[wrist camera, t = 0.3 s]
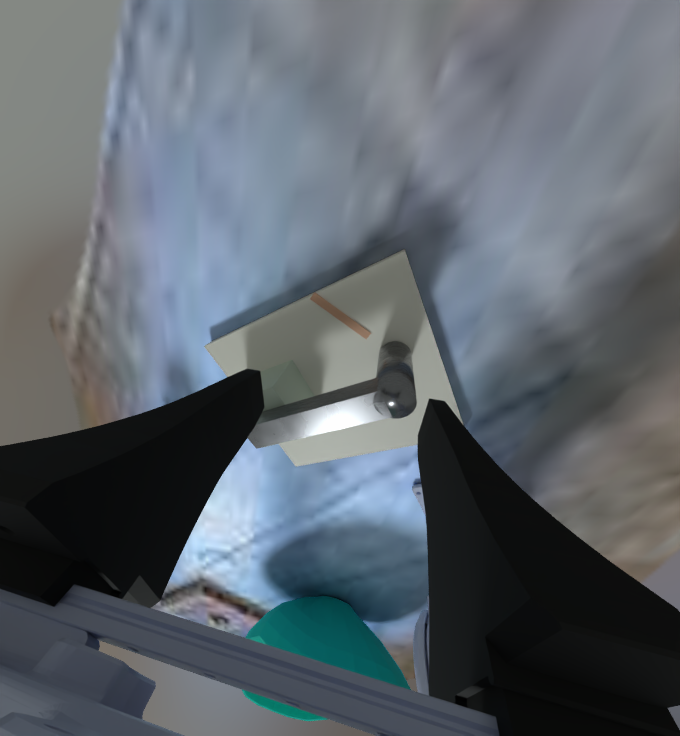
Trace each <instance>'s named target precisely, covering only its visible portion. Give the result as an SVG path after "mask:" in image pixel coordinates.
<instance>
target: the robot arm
mask: <svg viewBox="0 0 680 736" xmlns="http://www.w3.org/2000/svg"><path fill="white" fill-rule="evenodd" d="M264 407H265V406H264V397H263V389H262V380H261V372H260V371H259V370H253V369H245V370H242V371H240V372H238V373H236V374H233V375H231V376H229V377H227V378H225V379H223V380H221V381H219V382H217V383H215V384H213V385H210V386H208V387H206V388H204V389H202V390H200V391H197V392H195V393H193V394H190V395H188V396H186V397H184V398H181V399H179V400H177V401H174V402H172V403H169V404H167V405H164V406H161V407H158V408H156V409H153V410H150V411H147V412H144V413H141V414H138V415H135V416H131V417H128V418H125V419H121V420H118V421H115V422H111V423H108V424H104V425H100V426H96V427H92V428H88V429H84V430H80V431H76V432H72V433H68V434H63V435H58V436H53V437H49V438H43V439H37V440H32V441H27V442H21V443H16V444H11V445H5V446H0V736H184V735H181V734H179V733H176V732H173V731H171V730H168V729H165V728H163V727H160V726H158V725H155V724H152V723H150V722H147V721H145V720H143V719H142V715H143V711H144V709H145V707H146V705H147V703H148V701H149V699H150V697H151V695H152V693H153V691H154V689H155V687H156V685H155V681H153V680H151V679H149V678H147V677H145V676H143V675H141V674H140V673H138V672H136V671H135V670H133V669H132V668H130V667H129V666H128V665H127V664H125V663H124V662H123V661H121V660H119V659H116V658H114V657H112V656H109V655H107V654H105V653H102V652H100V651H98V650H99V647H100V645H99V640H100V641H103V642H106V643H109V644H112V645H114V646H118V647H120V648H123V649H126V650H129V651H132V652H135V653H138V654H141V655H144V656H146V657H149V658H152V659H155V660H158V661H161V662H164V663H167V664H170V665H173V666H176V667H178V668H181V669H184V670H187V671H190V672H193V673H196V674H199V675H202V676H205V677H208V678H210V679H213V680H217V681H220V682H222V683H225V684H228V685H231V686H234V687H237V688H240V689H242V690H245V691H248V692H251V693H254V694H257V695H260V696H263V697H266V698H269V699H272V700H274V701H277V702H280V703H283V704H286V705H289V706H292V707H295V708H298V709H301V710H304V711H306V712H309V713H312V714H315V715H318V716H321V717H324V718H327V719H330V720H333V721H336V722H338V723H341V724H344V725H348V726H351V727H353V728H356V729H359V730H362V731H365V732H368V733H371V734H373V735H376V736H680V730H679V728H678V727H677V725H676V723H675V721H674V719H673V717H672V716H671V714H670V712H669V710H668V708H669V707H673V706H678V705H680V612H679V611H678V609H676V608H675V607H674V606H672V605H671V604H669V603H668V602H666V601H665V600H664V599H662V598H661V597H659V596H658V595H657V594H655V593H654V592H652V591H651V590H649V589H648V588H647V587H645V586H644V585H642V584H641V583H640V582H638V581H637V580H635V579H634V578H632V577H631V576H630V575H628V574H627V573H625V572H624V571H623V570H621V569H620V568H618V567H617V566H616V565H614V564H613V563H611V562H610V561H609V560H607V559H606V558H605V557H603V556H602V555H601V554H600V553H598V552H597V551H596V550H594V549H593V548H592V547H590V546H589V545H588V544H586V543H585V542H584V541H583V540H581V539H580V538H579V537H577V536H576V535H575V534H574V533H572V532H571V531H570V530H569V529H567V528H566V527H565V526H564V525H562V524H561V523H560V522H559V521H558V520H556V519H555V518H554V517H553V516H552V515H551V514H549V513H548V512H547V511H546V510H545V509H544V508H542V507H541V506H540V505H539V504H538V503H537V502H535V501H534V500H533V499H532V498H531V497H530V496H529V495H528V494H527V493H525V492H524V491H523V490H522V489H521V488H520V487H519V486H518V485H517V484H516V483H515V482H514V481H513V480H512V479H511V478H510V477H509V476H508V475H507V474H506V473H505V472H504V471H503V470H502V469H501V468H500V467H499V466H498V465H497V464H496V463H495V462H494V461H493V460H492V458H491V457H490V456H489V455H488V454H487V453H486V452H485V451H484V450H483V448H482V447H481V446H480V445H479V444H478V443H477V441H476V440H475V439H474V438H473V437H472V435H471V434H470V433H469V432H468V430H467V429H466V428H465V427H464V425H463V424H462V423H461V421H460V420H459V419H458V417H457V416H456V415H455V413H454V412H453V411H452V409H451V408H450V407H449V406H448V404H447V403H446V402H445V401H442V400H436V399H430V398H429V401H428V404H427V407H426V410H425V413H424V417H423V420H422V423H421V426H420V429H419V433H418V463H419V470H420V478H421V484H416V485H413V486H412V491H413V493H414V494H415V496H416V498H417V500H418V502H419V504H420V506H421V508H422V510H423V512H424V514H425V516H426V525H427V545H428V576H429V596H427V603H428V610H423V611H422V612H421V614H420V616H419V619H418V621H417V623H416V626H415V630H414V642H413V652H414V667H415V676H416V683H417V688H418V692H415V691H412V690H409V689H406V688H403V687H399V686H396V685H393V684H390V683H387V682H384V681H380V680H377V679H374V678H371V677H368V676H365V675H361V674H358V673H355V672H352V671H349V670H345V669H342V668H339V667H336V666H333V665H330V664H326V663H323V662H320V661H317V660H314V659H310V658H307V657H304V656H301V655H298V654H295V653H291V652H288V651H285V650H282V649H279V648H275V647H272V646H269V645H266V644H263V643H260V642H256V641H253V640H250V639H247V638H244V637H241V636H237V635H234V634H231V633H228V632H225V631H221V630H218V629H215V628H212V627H209V626H206V625H202V624H199V623H196V622H193V621H190V620H186V619H183V618H180V617H177V616H174V615H171V614H167V613H164V612H161V611H158V610H155V609H151V608H150V607H152V606H154V605H155V604H157V603H158V602H159V601H160V600H161V598H162V595H163V593H164V590H165V588H166V586H167V584H168V581H169V579H170V577H171V575H172V572H173V570H174V568H175V566H176V564H177V561H178V559H179V557H180V555H181V553H182V551H183V548H184V546H185V544H186V542H187V540H188V538H189V536H190V534H191V532H192V530H193V528H194V526H195V524H196V522H197V520H198V518H199V516H200V514H201V512H202V510H203V508H204V506H205V505H206V503H207V501H208V499H209V497H210V495H211V493H212V492H213V490H214V488H215V486H216V484H217V483H218V481H219V479H220V477H221V476H222V474H223V473H224V471H225V469H226V468H227V467H228V465H229V464H230V462H231V461H232V459H233V458H234V456H235V455H236V453H237V452H238V451H239V449H240V448H241V446H242V445H243V443H244V442H245V440H246V439H247V438H248V436H249V435H250V433H251V432H252V430H253V429H254V427H255V425H256V423H257V422H258V420H259V418H260V416H261V414H262V411H263V409H264Z"/></svg>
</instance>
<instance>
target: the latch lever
mask: <svg viewBox="0 0 680 736" xmlns="http://www.w3.org/2000/svg"><path fill="white" fill-rule="evenodd" d="M416 405H417V399H416V390H415V381H414V372H413V363H412V354H411V350H410V348H409V347H408V346H407V345H406V344H404V343H402V342H398V341H392V342H389V343H386V344H385V345H384V346H383V347H382V348H381V349H380V351H379V357H378V365H377V373H376V378H374V379H371V380H367V381H364V382H360V383H357V384H354V385H350V386H347V387H344V388H340V389H337V390H333V391H330V392H327V393H323V394H320V395H317V396H313V397H310V398H307V399H303V400H300V401H296V402H293V403H290V404H286V405H283V406H280V407H276V408H273V409H269V410H266V411H263V412H262V414H261V416H260V418H259V420H258V422H257V423H256V425H255V427H254V429H253V430H252V432H251V433H250V435H249V436H248V439H249V440H250V441H251V443H252V444H253V445H254V446H255V448H261V447H265V446H269V445H274V444H278V443H283V442H287V441H291V440H296V439H300V438H304V437H309V436H313V435H318V434H322V433H326V432H331V431H335V430H339V429H344V428H348V427H352V426H357V425H361V424H366V423H370V422H374V421H379V420H383V419H387V418H393V419H399V418H404V417H406V416H408V415H410V414H411V413H412V412H413V411H414V410H415V408H416Z"/></svg>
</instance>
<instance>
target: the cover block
mask: <svg viewBox="0 0 680 736" xmlns="http://www.w3.org/2000/svg"><path fill="white" fill-rule="evenodd" d="M261 380H262V389H263V397H264V406H265V407H264V409H263V411H266V410H269V409H273V408H276V407H280V406H283V405H286V404H290V403H293V402H296V401H300V400H303V399H307V398H310V397H313V396H314V394H313V392H312V391H311V389H310V388H309V386H308V384H307V383H306V381H305V379H304V378H303V376H302V375H301V373H300V371H299V370H298V368H297V367H296V365H295V363H294V362H293V360H290V361H287V362H285V363H282V364H279V365H277V366H274V367H271V368H269V369H266V370H263V371H261ZM263 411H262V412H263ZM304 438H305V437H304ZM300 439H301V438H300ZM296 440H297V439H296ZM291 441H292V440H291ZM287 442H288V441H287ZM283 443H284V442H283ZM278 444H279V443H278ZM274 445H275V444H274ZM269 446H270V445H269ZM265 447H266V446H265ZM261 448H262V447H261Z"/></svg>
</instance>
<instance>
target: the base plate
mask: <svg viewBox="0 0 680 736" xmlns="http://www.w3.org/2000/svg"><path fill="white" fill-rule="evenodd" d="M392 341H398V342H402V343H404V344H406V345H407V346H408V347H409V348H410V350H411V354H412V363H413V372H414V381H415V390H416V399H417V405H416V408H415V410H414V411H413V412H412V413H411V414H410V415H408V416H406V417H404V418H399V419H393V418H387V419H383V420H379V421H374V422H370V423H366V424H361V425H357V426H352V427H348V428H344V429H339V430H335V431H331V432H326V433H322V434H318V435H313V436H309V437H305V438H301V439H297V440H292V441H288V442H284V443H279V445H280V446H281V448H282V449H283V450H284V452H285V453H286V454H287V455H288V457H289V458H290V459H291V461H292V462H293V463H294V465H295V466H302V465H307V464H313V463H318V462H324V461H330V460H335V459H341V458H346V457H352V456H357V455H363V454H368V453H374V452H380V451H385V450H391V449H396V448H402V447H407V446H413V445H418V433H419V429H420V426H421V423H422V420H423V417H424V413H425V410H426V407H427V404H428V401H429V398H430V399H436V400H442V401H445V402H446V403H447V404H448V406H449V407H450V408H451V409H452V411H453V412H454V413H455V415H456V416H457V417H458V419H459V420H460V421H461V423H462V424H463V422H462V419H461V416H460V413H459V410H458V407H457V404H456V401H455V398H454V395H453V392H452V389H451V386H450V383H449V380H448V377H447V374H446V371H445V368H444V365H443V362H442V359H441V356H440V353H439V350H438V347H437V344H436V341H435V338H434V335H433V332H432V329H431V326H430V323H429V320H428V317H427V314H426V311H425V308H424V305H423V302H422V299H421V296H420V293H419V290H418V287H417V284H416V281H415V278H414V275H413V272H412V269H411V267H410V264H409V261H408V258H407V255H406V252H405V249H404V250H401V251H399V252H397V253H395V254H393V255H391V256H389V257H387V258H385V259H383V260H381V261H378V262H376V263H374V264H372V265H370V266H368V267H366V268H364V269H362V270H360V271H358V272H355V273H353V274H351V275H349V276H347V277H345V278H343V279H341V280H339V281H337V282H335V283H332V284H330V285H328V286H326V287H324V288H322V289H320V290H318V291H316V292H314V293H312V294H309V295H307V296H305V297H303V298H301V299H299V300H297V301H295V302H293V303H291V304H289V305H286V306H284V307H282V308H280V309H278V310H276V311H274V312H272V313H270V314H268V315H266V316H263V317H261V318H259V319H257V320H255V321H253V322H251V323H249V324H247V325H245V326H243V327H240V328H238V329H236V330H234V331H232V332H230V333H228V334H226V335H224V336H222V337H220V338H217V339H215V340H213V341H211V342H210V343H208V344H207V345H205V346H204V347H205V348H206V349H207V351H208V352H209V353H210V355H211V356H212V357H213V359H214V360H215V361H216V363H217V364H218V365H219V366H220V368H221V369H222V370H223V372H224V373H225V374H226V376H227V377H229V376H231V375H233V374H236V373H238V372H240V371H242V370H245V369H253V370H259V371H260V372H261V371H263V370H266V369H269V368H271V367H274V366H277V365H279V364H282V363H285V362H287V361H290V360H293V362H294V363H295V365H296V367H297V368H298V370H299V371H300V373H301V375H302V376H303V378H304V379H305V381H306V383H307V384H308V386H309V388H310V389H311V391H312V392H313V394H314V396H317V395H320V394H323V393H327V392H330V391H333V390H337V389H340V388H344V387H347V386H350V385H354V384H357V383H360V382H364V381H367V380H371V379H374V378H376V373H377V365H378V357H379V351H380V349H381V348H382V347H383V346H384V345H385V344H386V343H389V342H392Z"/></svg>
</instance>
